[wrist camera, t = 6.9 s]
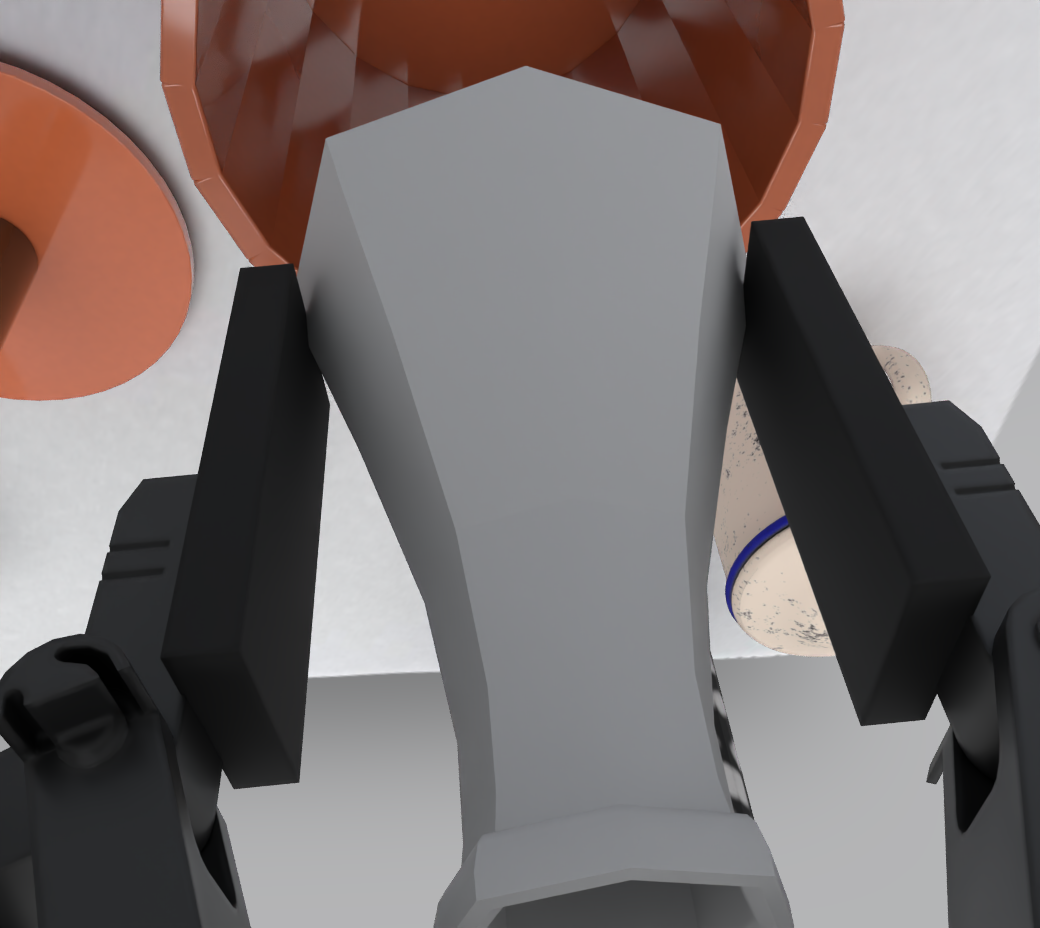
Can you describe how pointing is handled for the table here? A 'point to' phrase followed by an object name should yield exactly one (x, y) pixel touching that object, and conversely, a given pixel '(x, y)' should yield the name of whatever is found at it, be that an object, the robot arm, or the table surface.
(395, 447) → the flask
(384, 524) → the table surface
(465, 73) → the canister
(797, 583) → the teacup with lid
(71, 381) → the lid
